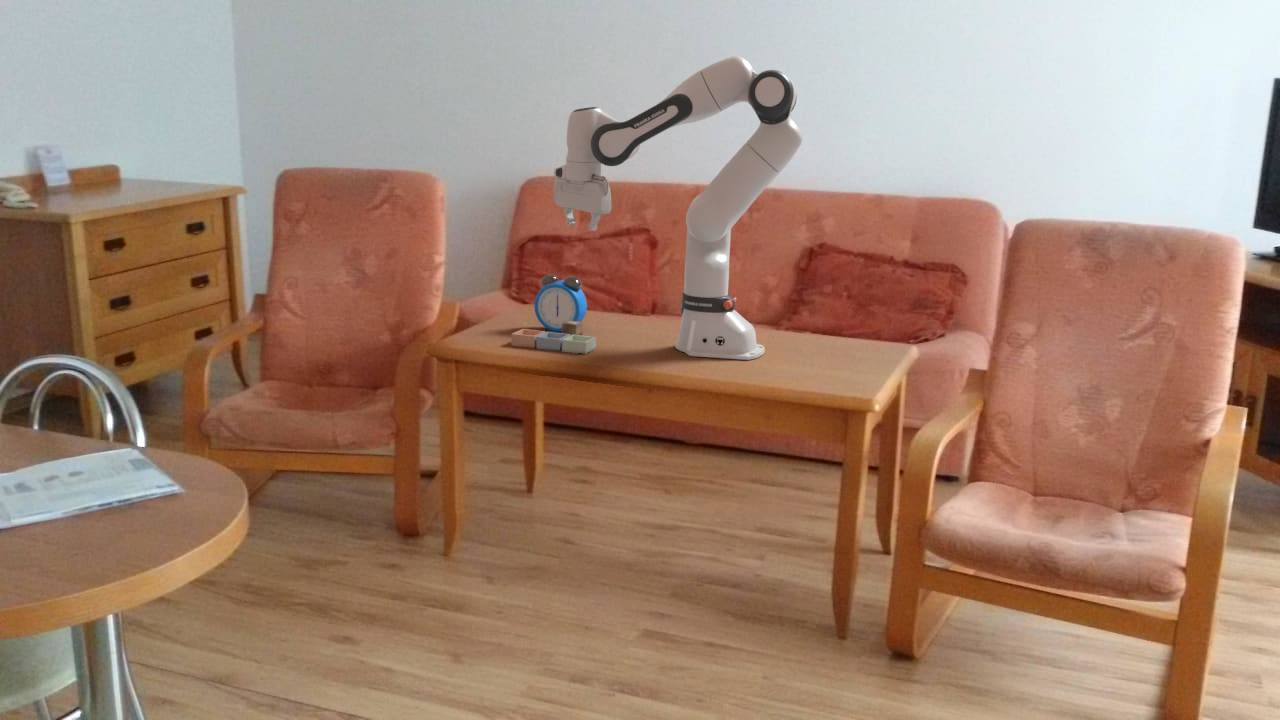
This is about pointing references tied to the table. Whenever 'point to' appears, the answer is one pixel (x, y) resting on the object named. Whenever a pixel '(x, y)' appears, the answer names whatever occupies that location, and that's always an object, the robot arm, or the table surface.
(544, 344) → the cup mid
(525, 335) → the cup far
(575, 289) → the alarm clock
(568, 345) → the pale green square tray
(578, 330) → the brown block
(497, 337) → the table surface
